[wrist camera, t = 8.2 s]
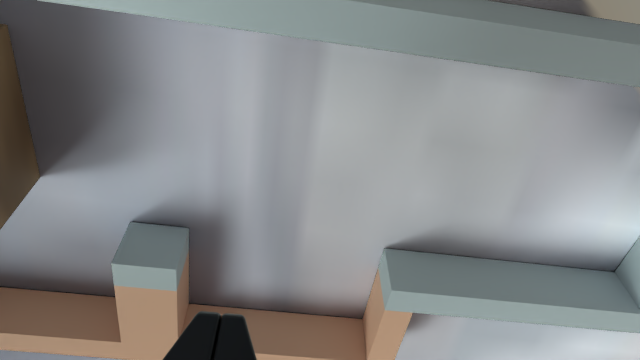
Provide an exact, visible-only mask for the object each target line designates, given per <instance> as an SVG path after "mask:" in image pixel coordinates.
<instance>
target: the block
mask: <svg viewBox="0 0 640 360" xmlns="http://www.w3.org/2000/svg"><path fill="white" fill-rule="evenodd" d="M39 178H40V173H39V169H38V164H37V159H36V155H35V150H34V146H33V141H32V136H31V132H30V127H29V123H28V118H27V113H26V109H25V104H24V100H23V95H22V90H21V86H20V81H19V77H18V72H17V67H16V63H15V58H14V54H13V49H12V44H11V40H10V35H9V31H8V26H7V25H6V24H0V229H1V228H2V227H3V225H4V224H5V223H6V221H7V220H8V219H9V217H10V216H11V215H12V213H13V212H14V211H15V210H16V208H17V207H18V206H19V204H20V203H21V202H22V200H23V199H24V198H25V196H26V195H27V194H28V192H29V191H30V190H31V189H32V187H33V186H34V185H35V183H36V182H37V181H38V179H39Z"/></svg>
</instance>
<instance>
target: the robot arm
mask: <svg viewBox="0 0 640 360" xmlns="http://www.w3.org/2000/svg"><path fill="white" fill-rule="evenodd" d="M163 360H257V359H256V355H255V351H254V348H253V344H252V341H251V337H250V334H249V330H248V326H247V323H246V319H245V317H244V316H243V315H241V314H229V313H225V314H223V315H222V316H221V315H220V313H217V312H207V311H200V312H198V313H197V314H196V315H195V317H194V318H193V319H192V321H191V322H190V323H189V325H188V326H187V327H186V329H185V330H184V331H183V333H182V334H181V335H180V337H179V338H178V339H177V341H176V342H175V343H174V345H173V346H172V347H171V349H170V350H169V352H168V353H167V354H166V356H165V357H164V358H163Z"/></svg>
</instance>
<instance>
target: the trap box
mask: <svg viewBox="0 0 640 360" xmlns="http://www.w3.org/2000/svg"><path fill="white" fill-rule="evenodd" d="M39 1H46V2H52V3H59V4H66V5H73V6H80V7H87V8H94V9H101V10H108V11H115V12H122V13H129V14H136V15H142V16H149V17H156V18H163V19H170V20H177V21H184V22H191V23H198V24H205V25H212V26H219V27H226V28H232V29H239V30H246V31H253V32H260V33H267V34H274V35H281V36H288V37H295V38H302V39H309V40H316V41H322V42H329V43H336V44H343V45H350V46H357V47H364V48H371V49H378V50H385V51H392V52H399V53H406V54H412V55H419V56H426V57H433V58H440V59H447V60H454V61H461V62H468V63H475V64H482V65H489V66H496V67H502V68H509V69H516V70H523V71H530V72H537V73H544V74H551V75H558V76H565V77H572V78H579V79H586V80H592V81H599V82H606V83H613V84H620V85H627V86H634V87H640V24H633V23H627V22H621V21H614V20H608V19H602V18H596V17H589V16H583V15H577V14H570V13H564V12H558V11H551V10H545V9H539V8H532V7H526V6H520V5H514V4H507V3H501V2H495V1H488V0H39ZM111 267H112V274H113V282H114V290H115V297H106V296H95V295H84V294H73V293H61V292H50V291H39V290H27V289H16V288H5V287H0V350H10V351H23V352H36V353H49V354H62V355H75V356H88V357H101V358H114V359H127V360H163V358H164V357H165V356H166V354H167V353H168V352H169V350H170V349H171V347H172V346H173V345H174V343H175V342H176V341H177V339H178V338H179V337H180V335H181V334H182V333H183V331H184V330H185V329H186V327H187V326H188V325H189V323H190V322H191V321H192V319H193V318H194V317H195V315H196V314H197V313H198V312H200V311H207V312H217V313H220V315H221V316H222V315H223V314H225V313H229V314H241V315H243V316H244V317H245V319H246V323H247V326H248V330H249V334H250V337H251V341H252V344H253V348H254V351H255V355H256V359H257V360H394V359H395V357H396V354H397V352H398V349H399V347H400V344H401V342H402V339H403V337H404V334H405V332H406V329H407V327H408V324H409V322H410V319H411V317H412V314H413V313H421V314H432V315H443V316H454V317H465V318H476V319H487V320H498V321H509V322H520V323H531V324H542V325H553V326H564V327H575V328H586V329H597V330H608V331H619V332H630V333H640V237H639V238H638V240H637V241H636V242H635V244H634V245H633V247H632V248H631V250H630V251H629V252H628V254H627V255H626V257H625V258H624V259H623V261H622V262H621V264H620V265H619V267H618V268H617V269H616V271H615V272H607V271H598V270H588V269H578V268H569V267H559V266H549V265H540V264H530V263H520V262H511V261H501V260H492V259H482V258H472V257H463V256H453V255H443V254H434V253H424V252H414V251H405V250H395V249H386V248H384V251H383V254H382V258H381V261H380V264H379V267H378V270H377V274H376V277H375V280H374V283H373V286H372V290H371V293H370V296H369V299H368V303H367V306H366V309H365V312H364V315H363V319H354V318H343V317H332V316H320V315H309V314H298V313H287V312H275V311H264V310H253V309H241V308H230V307H219V306H208V305H196V304H189V228H183V227H173V226H164V225H154V224H145V223H135V222H130V223H129V226H128V228H127V230H126V232H125V234H124V237H123V239H122V241H121V243H120V245H119V248H118V250H117V252H116V254H115V256H114V258H113V261H112V263H111Z"/></svg>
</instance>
